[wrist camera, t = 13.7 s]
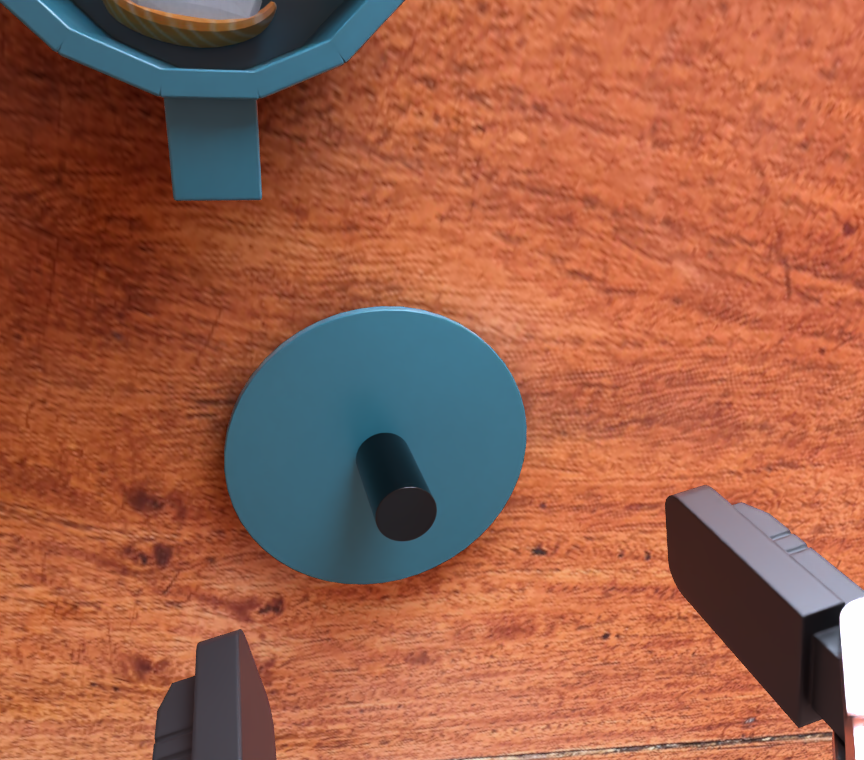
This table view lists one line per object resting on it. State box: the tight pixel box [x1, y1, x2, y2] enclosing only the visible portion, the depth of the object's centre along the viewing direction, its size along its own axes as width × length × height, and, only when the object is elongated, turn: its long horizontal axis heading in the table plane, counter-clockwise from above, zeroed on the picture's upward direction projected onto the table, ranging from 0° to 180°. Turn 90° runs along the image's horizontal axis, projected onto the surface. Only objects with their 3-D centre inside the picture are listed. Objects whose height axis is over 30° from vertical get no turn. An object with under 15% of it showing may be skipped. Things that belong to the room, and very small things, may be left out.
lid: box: [224, 306, 527, 584], centre depth 31 cm, size 13×13×6 cm
